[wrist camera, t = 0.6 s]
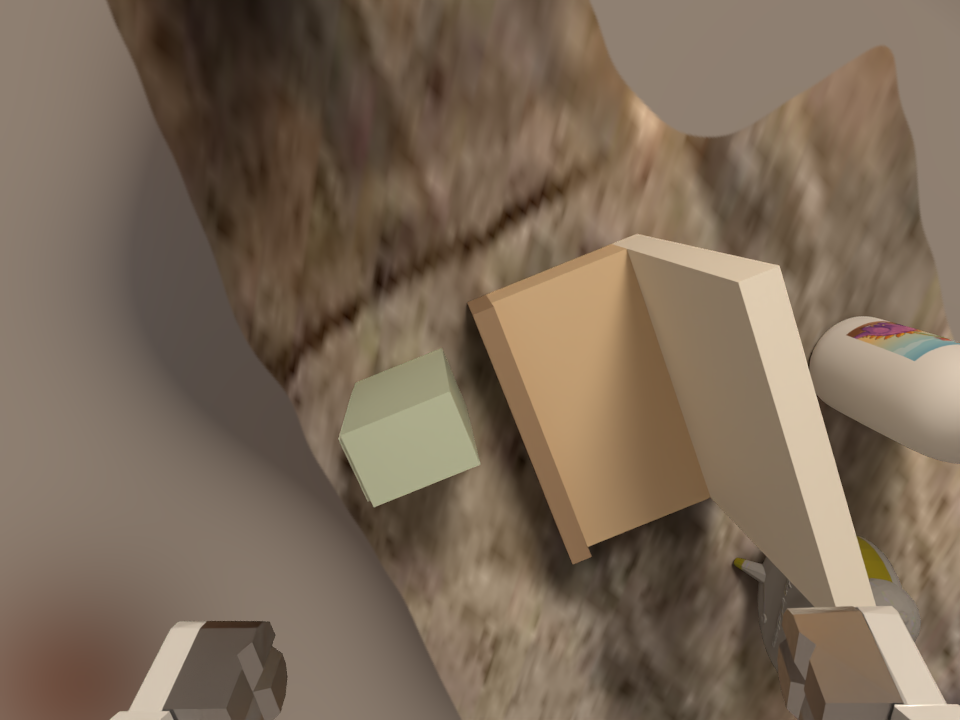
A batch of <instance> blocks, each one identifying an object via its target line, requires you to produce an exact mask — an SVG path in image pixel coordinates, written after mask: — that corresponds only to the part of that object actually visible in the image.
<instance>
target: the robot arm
mask: <svg viewBox="0 0 960 720" xmlns="http://www.w3.org/2000/svg"><path fill="white" fill-rule="evenodd" d="M782 627H783V630H784V633H785V636H786V639H785V640H784V641H783V642H781V643H780V644H779V648H778V658H777V662H778V675H779V682H780V686H781V691H782V695H783V698H784V701H785V705H786V708H787V710H789V711H790V712H791V713H792V714H793V715H794V716H795V717H796V718H797V719H798V720H960V706H959V705H958V704H946V702H945V700H944V698H943V696H942V694H941V692H940V690H939V688H938V687H937V685H936V683H935V681H934V679H933V677H932V675H931V673H930V671H929V669H928V668H927V666H926V664H925V662H924V660H923V658H922V656H921V654H920V652H919V650H918V649H917V647H916V645H915V643H914V641H913V639H912V637H911V635H910V633H909V631H908V629H907V628H906V626H905V624H904V622H903V620H902V618H901V616H900V614H899V612H898V611H897V610H896V609H895V608H893V607H892V606H865V607H853V606H841V607H813V608H787V609H786V611H785V612H784V614H783V620H782ZM274 638H275V633H274V631H273V628H272V626H271V624H270V622H265V621H179V622H178V623H176V624H175V625H174V626H173V627H172V628H171V629H170V630H169V632H168V634H167V636H166V638H165V640H164V642H163V644H162V646H161V648H160V650H159V652H158V654H157V656H156V658H155V660H154V662H153V664H152V666H151V668H150V669H149V671H148V674H147V675H146V677H145V679H144V681H143V683H142V685H141V687H140V689H139V691H138V693H137V695H136V697H135V699H134V701H133V703H132V704H131V707H130V708H129V710H128V711H120V712H118V713H117V714H116V715H115V716H113V717H112V718H111V719H110V720H273V719H275V718H276V717H277V716H278V715H279V714H280V712H281V709H282V705H283V702H284V699H285V695H286V685H287V671H286V670H287V669H286V663H285V660H284V657H283V654H282V653H281V652H280V651H278V650H277V649H276V648H274V647H273V646H272V644H273V640H274Z"/></svg>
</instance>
